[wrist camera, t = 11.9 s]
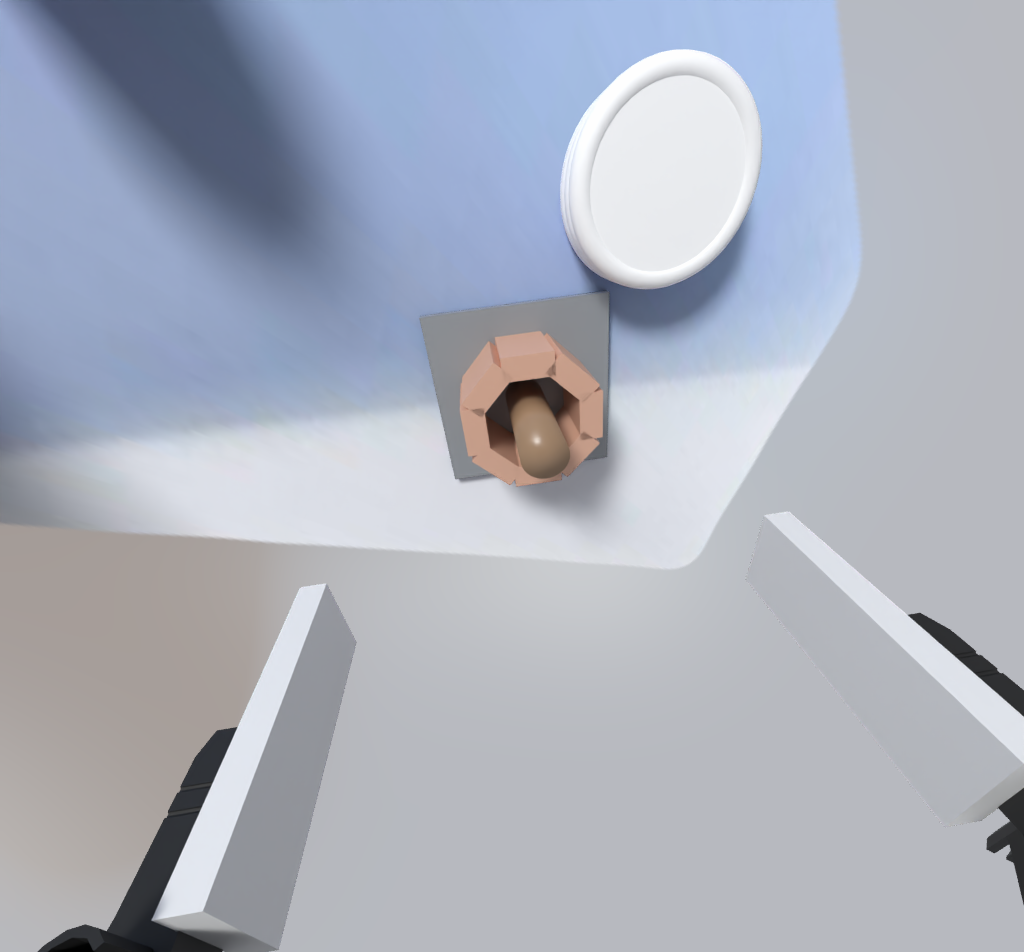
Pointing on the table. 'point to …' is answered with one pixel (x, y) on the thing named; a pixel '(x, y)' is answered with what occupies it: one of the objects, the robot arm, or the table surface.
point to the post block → (521, 402)
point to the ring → (518, 363)
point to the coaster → (661, 170)
